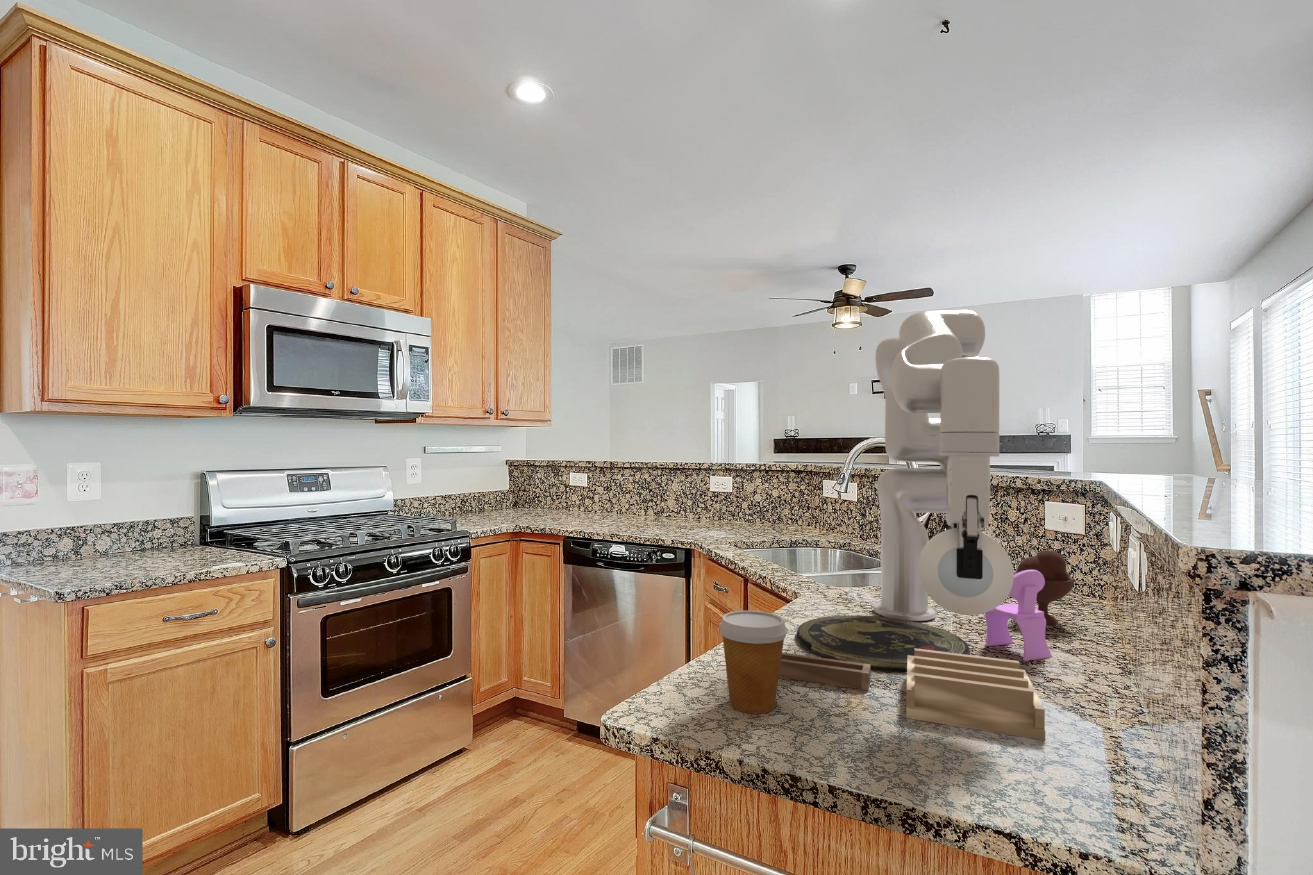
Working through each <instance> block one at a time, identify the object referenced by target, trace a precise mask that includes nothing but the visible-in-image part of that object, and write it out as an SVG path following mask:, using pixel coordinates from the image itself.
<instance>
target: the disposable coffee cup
mask: <svg viewBox="0 0 1313 875" xmlns="http://www.w3.org/2000/svg"><path fill="white" fill-rule="evenodd" d="M721 618H722V619H721V622H720V623H719V625H718V629H719V631H720V634H721V637H722V642H723V643H722V644H723V653H724V662H725V670H726V672H725V673H726V679H727V690H728V696H729V705H730V706H731V707H732V708H733V709H735V710H737V711H739V712H742V713H746V714H752V715H753V714H754V715H756V714H758V715H759V714H766V713H769V712H772V711H773V710H774V709H775V708H776V704H777V703H776V702H777V693H778V687H779V680H780V677H779V673H780V666H781V658H782V653H783V648H784V641H785V638H786V636H787V634H788V632H789V630H788V628H787V627H786V623H785V620H784V619H785V618H784V617H782V616H780V615H778V614H774V613H772V612H765V611H761V610H760V611H759V610H735V611H731V612H727V613H725V614H723V615H722V617H721Z"/></svg>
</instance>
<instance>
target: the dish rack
mask: <svg viewBox="0 0 1313 875" xmlns="http://www.w3.org/2000/svg"><path fill="white" fill-rule="evenodd" d="M1020 666H1021V665H1020V662H1019V660H1014V659H1013V660H1012V659H1005V658H995V657H989V656H980V655H972V654H970V655H965V654H957V653H949V652H941V651H932V650H924V649H916V648H915V656H910V655H908V658H907V673H906V712H905V713H906V719H912V720H918V721H921V722H922V721H923V722H930V723H937V724H942V725H948V726H954V727H960V728H966V729H973V730H979V731H984V732H991V733H996V734H997V733H998V734H1003V735H1010V736H1016V737H1021V738H1027V739H1034V740H1039V741H1046V730H1045V729H1046V728H1045V725H1046V724H1045V720H1046V717H1045V714H1046V713H1045V712H1046V711H1045V708H1044V706H1043V704H1042V702H1041V700H1040V697H1039V695H1038V693H1037V692H1036V689H1035V688H1034V685H1033V684H1032V682H1031V681H1032V680H1030V678H1029V676H1028V673H1027V672H1026V670H1025V669H1022V668H1021V669H1020Z"/></svg>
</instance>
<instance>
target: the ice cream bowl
mask: <svg viewBox="0 0 1313 875" xmlns="http://www.w3.org/2000/svg"><path fill="white" fill-rule="evenodd" d="M1025 570H1037V571H1039V572H1040V573H1041V574H1042V575H1043V577H1044V579H1045V584H1044V587H1043V588H1042V590H1040V591H1039V592H1038V593H1037V598H1036V603H1037V610H1039V611H1042V612H1044V618H1045V619H1046V626H1056V625H1058V624H1059V620H1058V619H1057V618H1055V617H1054V616H1052V615H1051V614H1049V610H1048V609H1049V605H1050V603H1053V602H1056V601H1058V600H1060V599H1062V598H1064V597H1066V596H1067V595H1068V594H1070V593H1071V591H1072V589H1073V588H1074V585H1075V581H1076V579H1075V578H1073V577H1071V576H1070V574H1069V572H1068V571H1067V561H1066V559H1065V557H1063V556H1062V554H1060V553H1059V552H1058V551H1055V550H1049V549H1048V550H1047V549H1046V550H1040V551H1039V552H1038V553H1037V554H1036V555H1035V556H1029V557H1026V558H1024V559H1022V560H1021V561H1020V562H1019V564H1018V565H1017V570H1016V571H1015V572H1014V575H1015V574H1017V573H1019V572H1021V571H1025Z"/></svg>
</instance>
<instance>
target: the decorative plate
mask: <svg viewBox="0 0 1313 875" xmlns="http://www.w3.org/2000/svg"><path fill="white" fill-rule="evenodd" d="M795 638H796V640H797V643H798V644H799V645H800V647H802V648H803V649H804V650H806V651H807V652H809V653H810V654H812V655H815V656H816V657H819V658H827V659H834V660H841V661H849V662H856V663H864V664H871V665H870V671H878V672H888V673H889V672H890V673H905V674H907V658H908V655H910V656H915V648H916V649H924V650H932V651H941V652H949V653H957V654H965V655H971V649H970V647H969V645H968V643H967V642H966V641H965V640H963V638H961V637H960V636H957V635H956V634H954V633H951V632H950V631H947V630H944V629H942V628H938V627H935V626H932V625H928V624H923V623H921V622H918V621H907V620H901V619H894V618H888V617H884V616H874V615H855V614H853V615H831V616H822V617H818V618H813V619H810V620H807V621H805V622H803V623H802V624H800V625H799V626H798V627H797V631H796V635H795Z"/></svg>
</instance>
